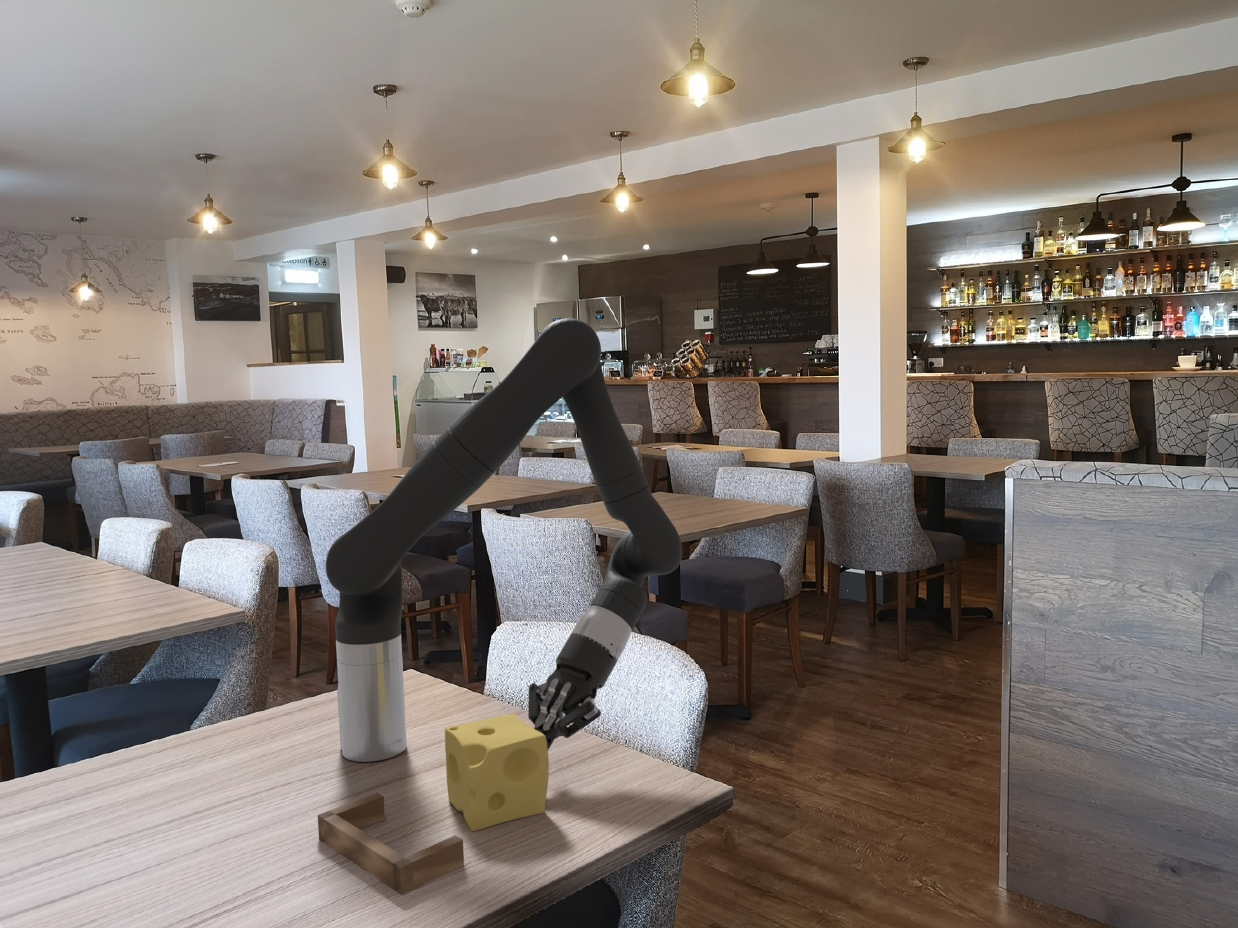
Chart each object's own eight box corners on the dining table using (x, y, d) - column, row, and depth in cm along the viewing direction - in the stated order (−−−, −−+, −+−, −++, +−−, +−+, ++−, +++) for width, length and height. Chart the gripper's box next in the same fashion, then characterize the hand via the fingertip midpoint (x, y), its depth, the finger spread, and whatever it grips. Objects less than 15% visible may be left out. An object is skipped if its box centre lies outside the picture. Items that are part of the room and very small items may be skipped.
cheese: (471, 834, 111) (467, 753, 110) (444, 799, 120) (440, 724, 119) (551, 812, 116) (548, 735, 115) (519, 781, 125) (516, 709, 124)
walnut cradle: (319, 838, 110) (317, 814, 110) (378, 815, 116) (377, 792, 116) (401, 894, 98) (400, 867, 97) (464, 865, 103) (462, 839, 103)
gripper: (548, 623, 132) (482, 732, 124) (614, 640, 123) (547, 758, 115) (576, 651, 136) (514, 758, 128) (642, 669, 127) (580, 785, 119)
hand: (530, 758), depth 122 cm, fingers closed
